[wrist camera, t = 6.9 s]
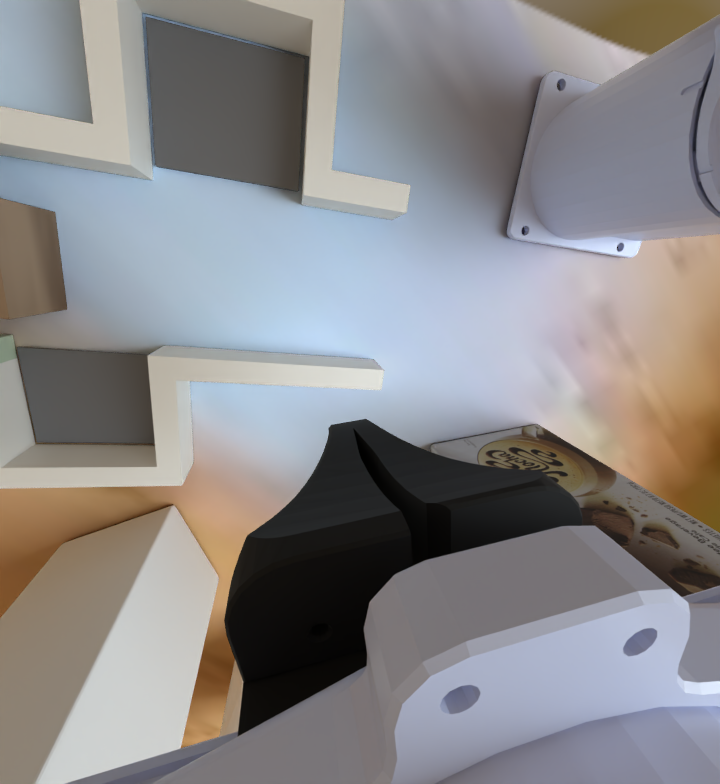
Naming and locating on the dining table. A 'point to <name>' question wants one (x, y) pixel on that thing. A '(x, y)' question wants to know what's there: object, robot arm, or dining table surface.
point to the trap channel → (189, 154)
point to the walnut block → (29, 262)
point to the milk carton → (104, 651)
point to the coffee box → (606, 503)
